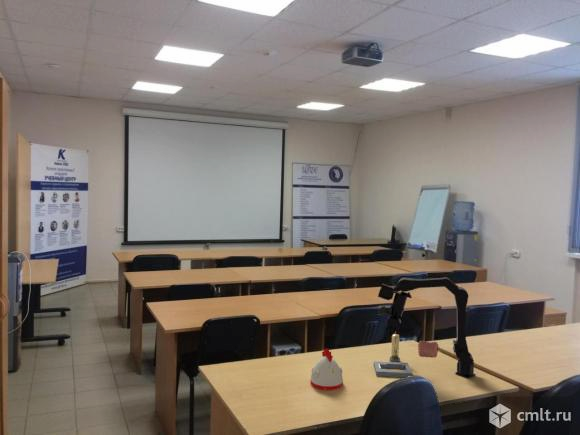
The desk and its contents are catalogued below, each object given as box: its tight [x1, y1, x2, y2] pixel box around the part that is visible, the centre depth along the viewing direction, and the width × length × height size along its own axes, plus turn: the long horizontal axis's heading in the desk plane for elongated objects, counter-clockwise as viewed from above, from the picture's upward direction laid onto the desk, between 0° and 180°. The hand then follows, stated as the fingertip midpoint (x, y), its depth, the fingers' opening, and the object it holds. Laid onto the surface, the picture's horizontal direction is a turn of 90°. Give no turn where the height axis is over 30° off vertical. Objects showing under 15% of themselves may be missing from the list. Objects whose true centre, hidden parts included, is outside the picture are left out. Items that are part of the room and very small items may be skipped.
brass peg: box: [389, 333, 401, 363], centre depth 223 cm, size 5×5×13 cm
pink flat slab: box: [417, 340, 438, 359], centre depth 243 cm, size 27×10×2 cm, turn 162°
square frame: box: [373, 360, 413, 378], centre depth 210 cm, size 16×13×2 cm
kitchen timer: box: [310, 348, 344, 391], centre depth 195 cm, size 14×14×15 cm
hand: (389, 334), depth 215 cm, fingers open, 9 cm apart
